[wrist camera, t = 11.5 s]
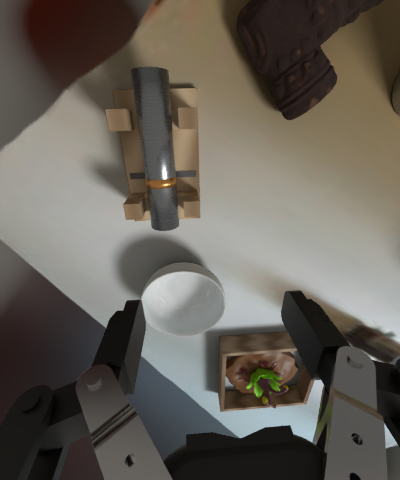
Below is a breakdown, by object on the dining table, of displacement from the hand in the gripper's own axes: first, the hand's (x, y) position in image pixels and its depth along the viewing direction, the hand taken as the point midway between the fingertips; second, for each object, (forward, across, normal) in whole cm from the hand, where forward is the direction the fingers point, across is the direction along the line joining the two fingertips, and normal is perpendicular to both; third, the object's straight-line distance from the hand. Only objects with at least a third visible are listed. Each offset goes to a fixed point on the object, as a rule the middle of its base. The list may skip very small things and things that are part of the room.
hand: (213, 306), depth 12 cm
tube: (+26, +5, -5) cm, 27 cm away
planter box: (+30, -18, +52) cm, 63 cm away
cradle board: (+30, +5, -4) cm, 31 cm away
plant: (+31, -17, +53) cm, 64 cm away
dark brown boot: (+30, -15, -20) cm, 39 cm away
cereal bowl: (+30, +3, +22) cm, 38 cm away
